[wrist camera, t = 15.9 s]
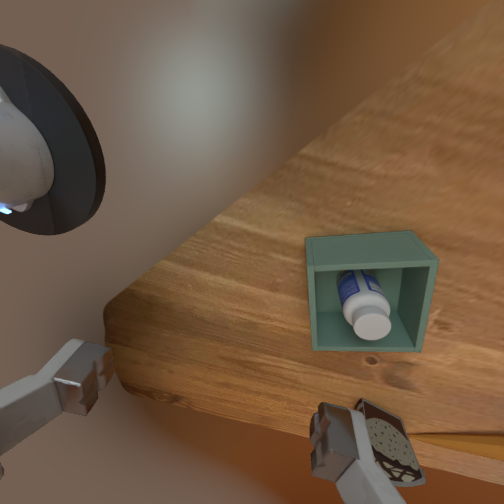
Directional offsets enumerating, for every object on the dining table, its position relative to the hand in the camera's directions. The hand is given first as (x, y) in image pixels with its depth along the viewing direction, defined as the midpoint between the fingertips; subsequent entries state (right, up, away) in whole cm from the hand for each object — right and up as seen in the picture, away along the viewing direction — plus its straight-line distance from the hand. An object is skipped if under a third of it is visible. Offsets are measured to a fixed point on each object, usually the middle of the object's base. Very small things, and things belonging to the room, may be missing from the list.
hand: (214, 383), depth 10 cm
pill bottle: (+16, +1, +28) cm, 32 cm away
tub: (+17, +1, +29) cm, 33 cm away
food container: (+25, -28, +43) cm, 57 cm away
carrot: (+41, -30, +41) cm, 66 cm away
